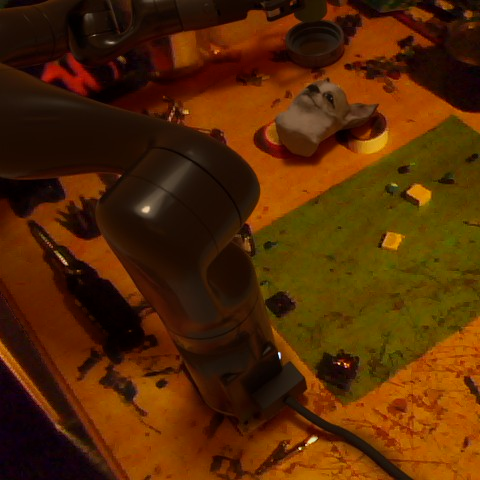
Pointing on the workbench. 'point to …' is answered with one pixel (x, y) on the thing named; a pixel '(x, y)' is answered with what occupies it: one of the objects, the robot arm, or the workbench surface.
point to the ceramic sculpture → (318, 117)
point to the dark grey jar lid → (315, 43)
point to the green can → (312, 11)
